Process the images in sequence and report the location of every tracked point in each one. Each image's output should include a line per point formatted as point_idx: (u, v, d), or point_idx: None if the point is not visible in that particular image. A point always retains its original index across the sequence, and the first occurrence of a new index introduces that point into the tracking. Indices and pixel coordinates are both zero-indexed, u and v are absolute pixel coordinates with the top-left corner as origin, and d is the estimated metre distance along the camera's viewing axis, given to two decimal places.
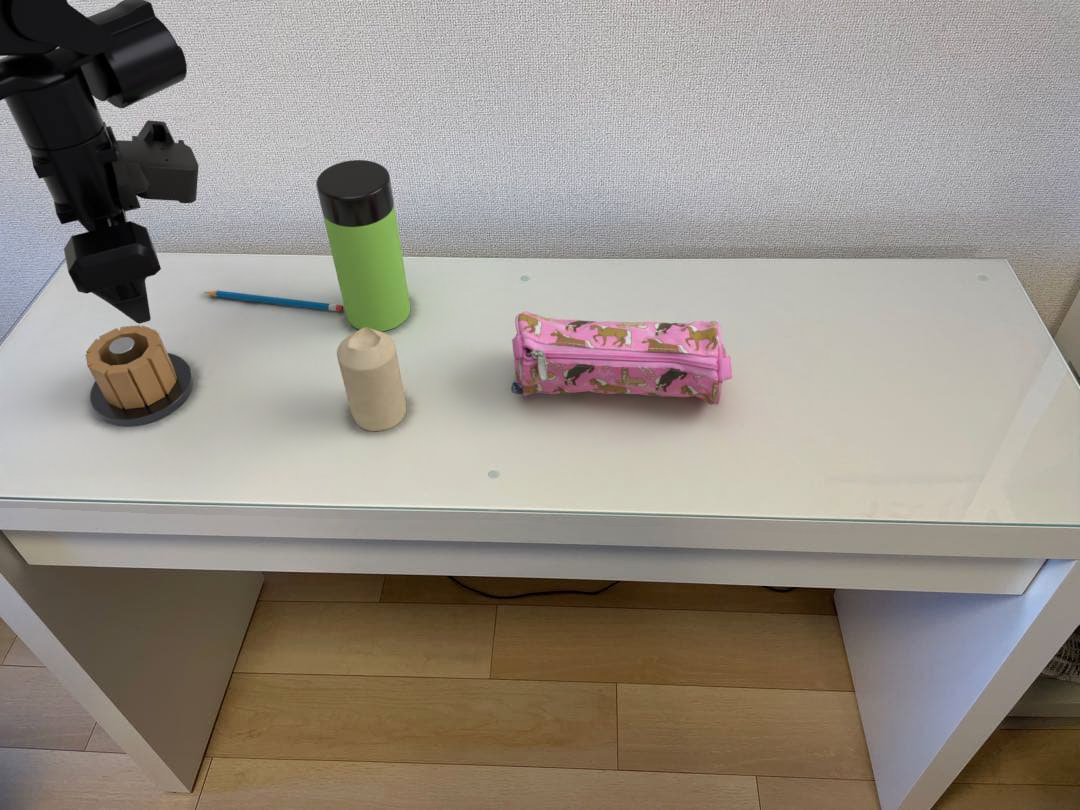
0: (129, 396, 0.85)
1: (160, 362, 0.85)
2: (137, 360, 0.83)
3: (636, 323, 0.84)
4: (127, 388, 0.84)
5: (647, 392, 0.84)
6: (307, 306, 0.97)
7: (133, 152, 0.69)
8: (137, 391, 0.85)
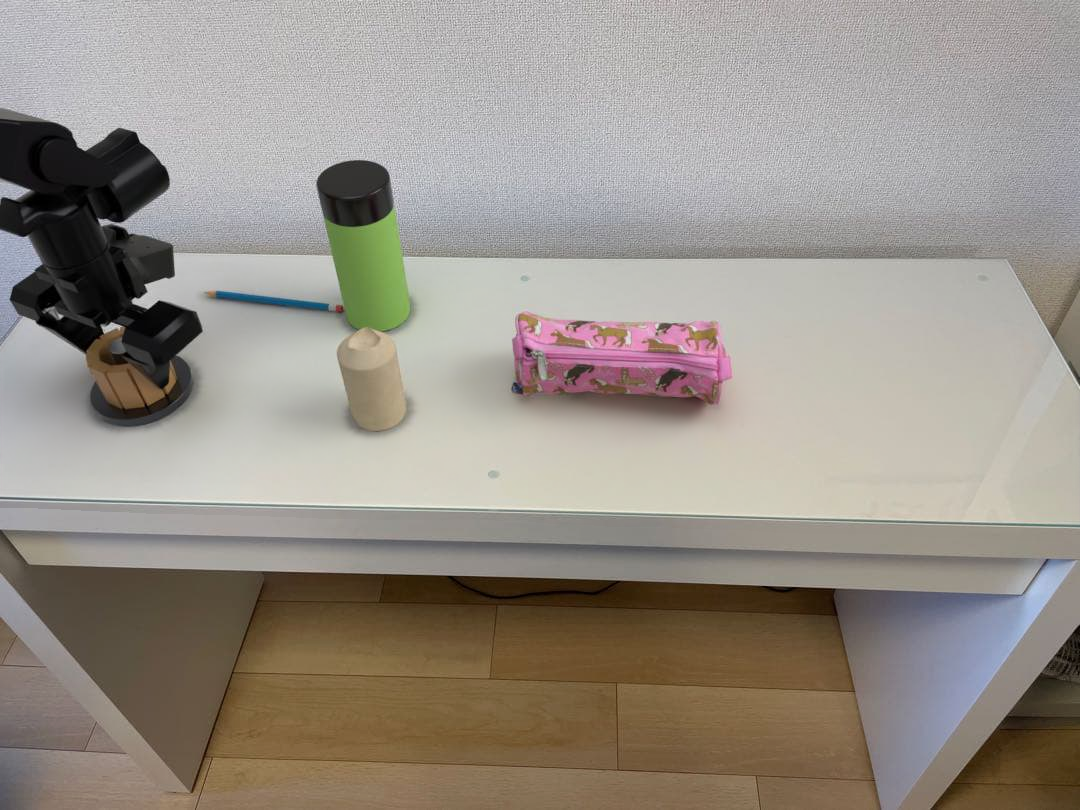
0: (129, 396, 0.85)
1: None
2: None
3: (636, 323, 0.84)
4: (127, 388, 0.84)
5: (647, 392, 0.84)
6: (306, 306, 0.97)
7: None
8: (137, 391, 0.85)
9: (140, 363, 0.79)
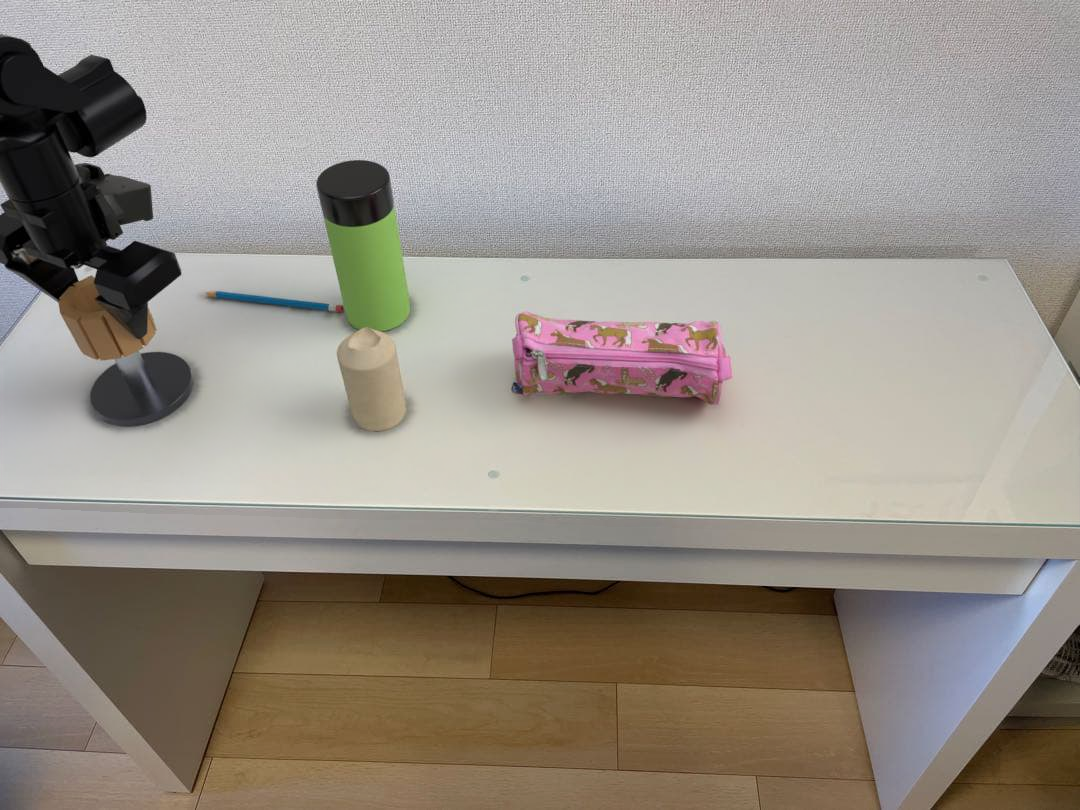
0: (104, 346, 0.80)
1: None
2: None
3: (636, 323, 0.84)
4: (102, 337, 0.79)
5: (647, 392, 0.84)
6: (306, 306, 0.97)
7: None
8: (113, 341, 0.80)
9: (114, 307, 0.74)
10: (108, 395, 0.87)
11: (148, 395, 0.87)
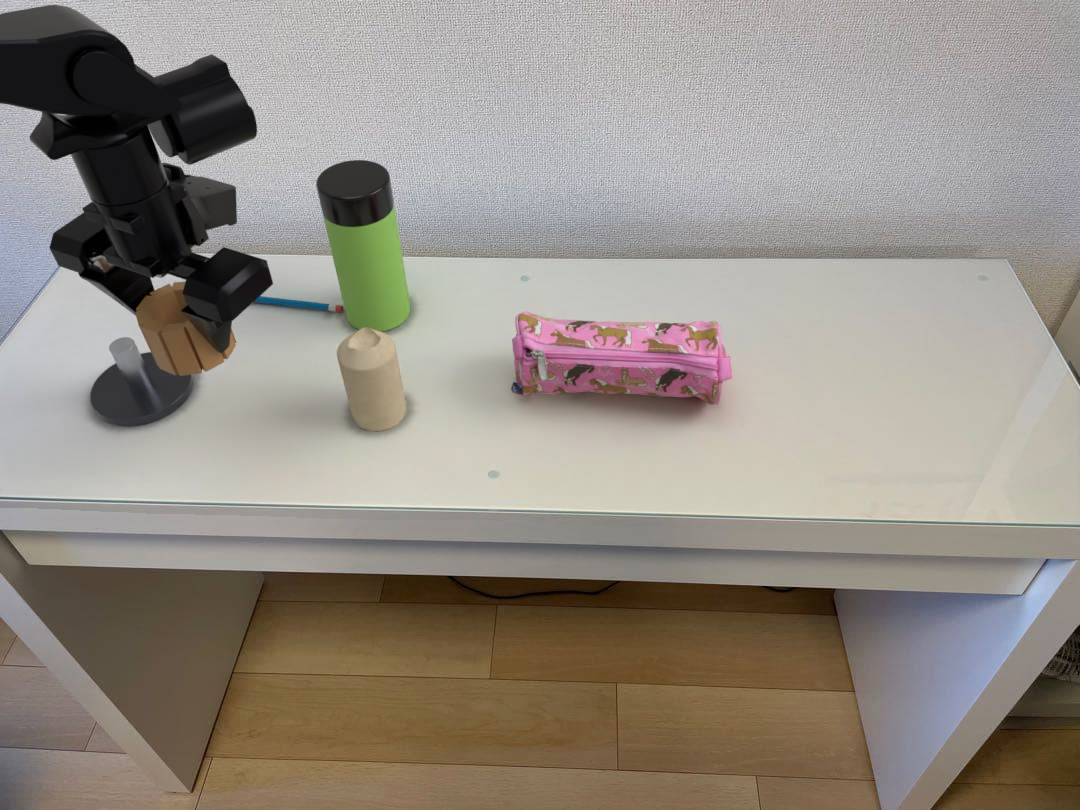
0: (185, 360, 0.74)
1: None
2: None
3: (636, 323, 0.84)
4: (183, 351, 0.73)
5: (647, 392, 0.84)
6: (306, 306, 0.97)
7: None
8: (194, 355, 0.74)
9: (203, 319, 0.68)
10: (108, 395, 0.87)
11: (148, 395, 0.87)
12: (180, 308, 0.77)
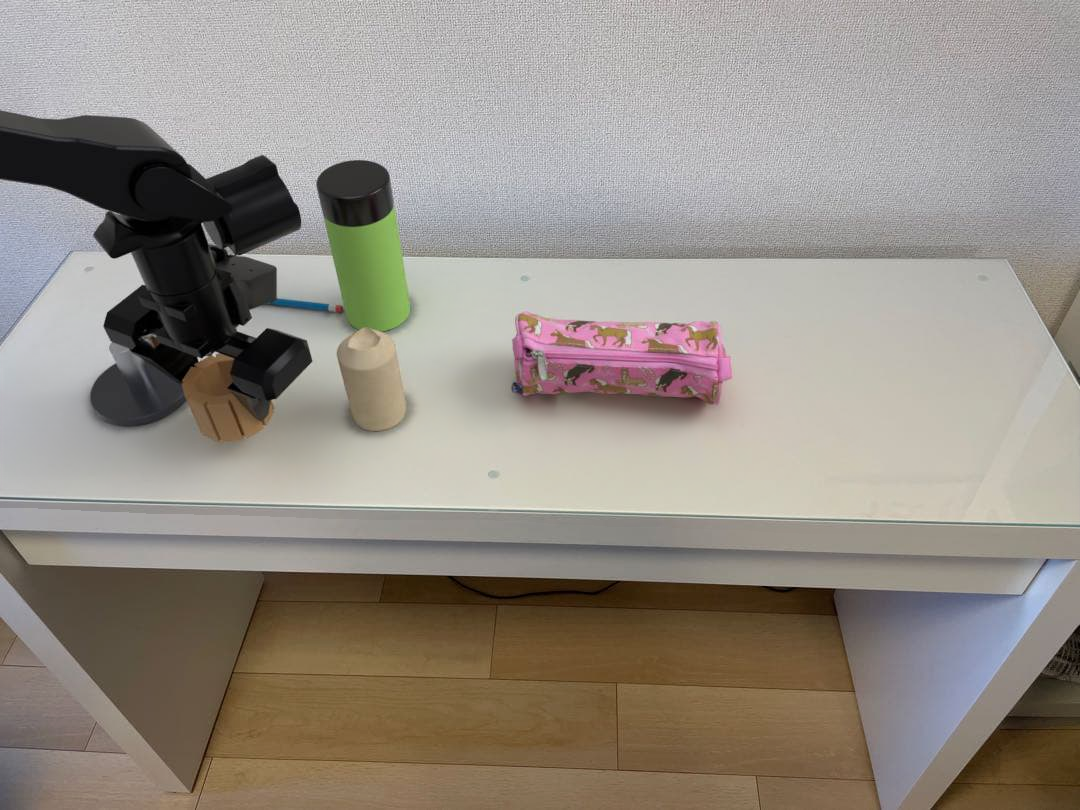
0: (228, 429, 0.79)
1: None
2: None
3: (636, 323, 0.84)
4: (227, 421, 0.78)
5: (647, 392, 0.84)
6: (306, 306, 0.97)
7: None
8: (237, 424, 0.79)
9: (248, 396, 0.73)
10: (108, 395, 0.87)
11: (148, 395, 0.87)
12: (222, 377, 0.82)
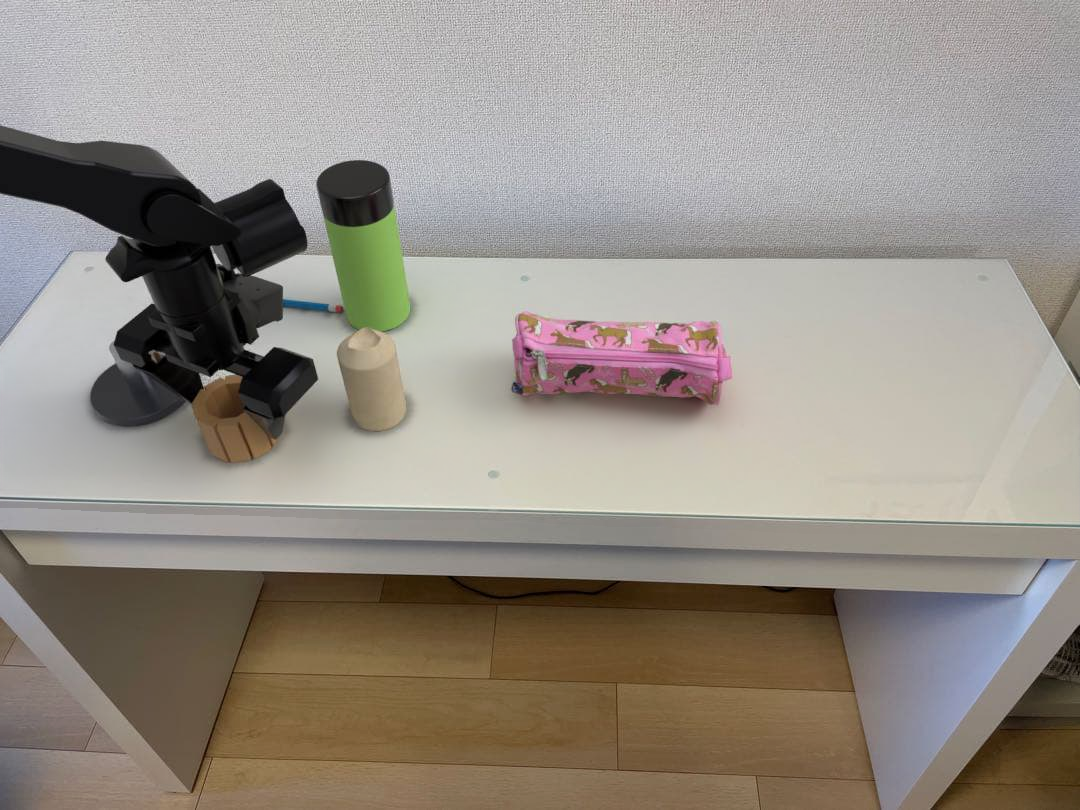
0: (237, 450, 0.81)
1: None
2: None
3: (636, 323, 0.84)
4: (236, 442, 0.80)
5: (647, 392, 0.84)
6: (306, 306, 0.97)
7: None
8: (245, 445, 0.81)
9: (263, 417, 0.74)
10: (108, 395, 0.87)
11: (148, 395, 0.87)
12: (231, 399, 0.84)
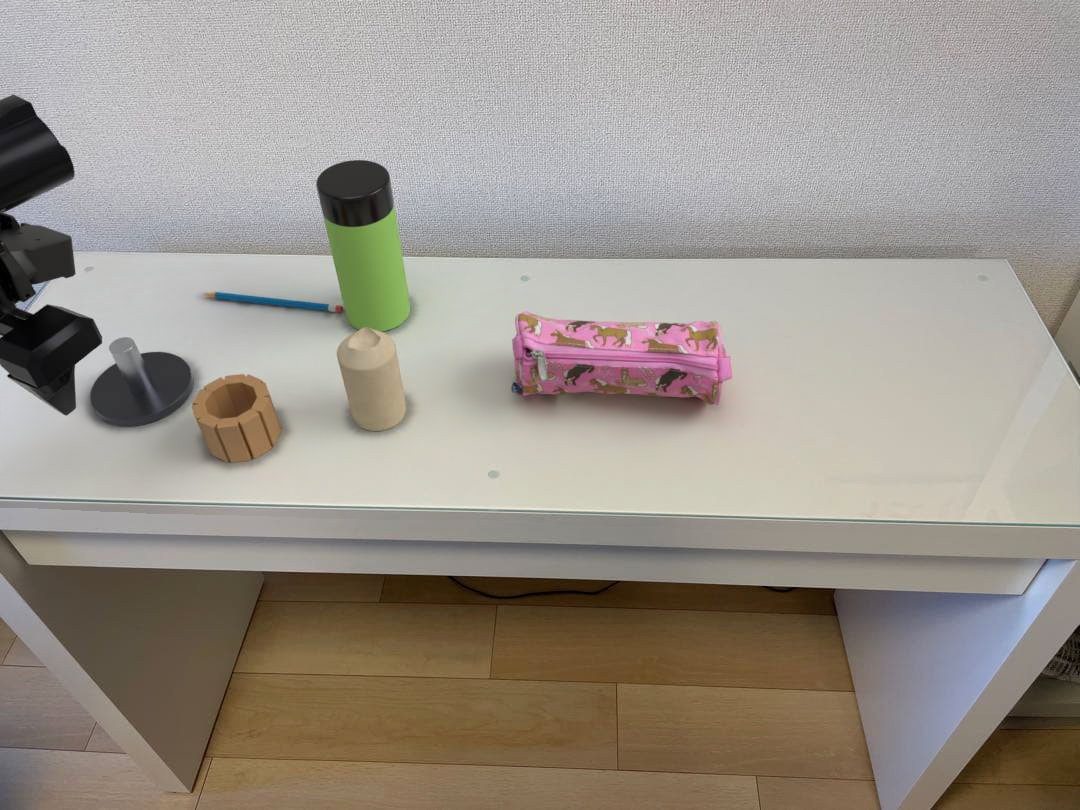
0: (237, 450, 0.81)
1: (269, 414, 0.81)
2: (247, 413, 0.80)
3: (636, 323, 0.84)
4: (236, 442, 0.80)
5: (647, 392, 0.84)
6: (306, 307, 0.97)
7: None
8: (245, 445, 0.81)
9: (29, 386, 0.63)
10: (108, 395, 0.87)
11: (148, 395, 0.87)
12: (231, 399, 0.84)
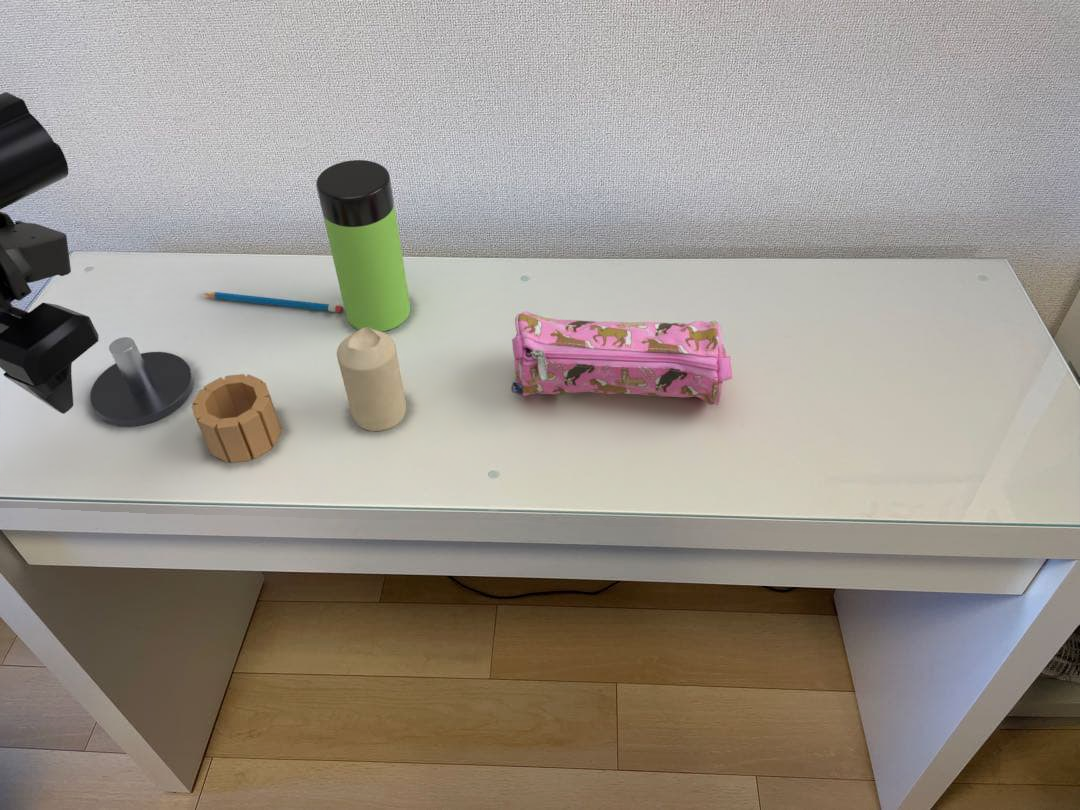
0: (237, 450, 0.81)
1: (269, 414, 0.81)
2: (247, 413, 0.80)
3: (636, 323, 0.84)
4: (236, 442, 0.80)
5: (647, 392, 0.84)
6: (306, 307, 0.97)
7: None
8: (245, 445, 0.81)
9: (25, 384, 0.63)
10: (108, 395, 0.87)
11: (148, 395, 0.87)
12: (231, 399, 0.84)
